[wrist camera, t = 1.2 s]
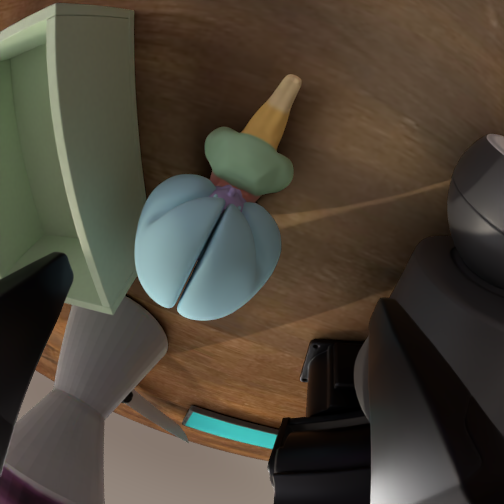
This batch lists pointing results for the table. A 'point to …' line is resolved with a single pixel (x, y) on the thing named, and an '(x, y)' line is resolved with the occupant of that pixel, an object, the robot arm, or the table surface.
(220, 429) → the smartphone
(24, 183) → the bin
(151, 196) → the toy flower bud
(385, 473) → the robot arm
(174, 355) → the table surface
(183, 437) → the kitchen knife
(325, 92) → the table surface
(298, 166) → the table surface
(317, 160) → the table surface
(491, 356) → the binoculars
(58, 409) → the lamp
